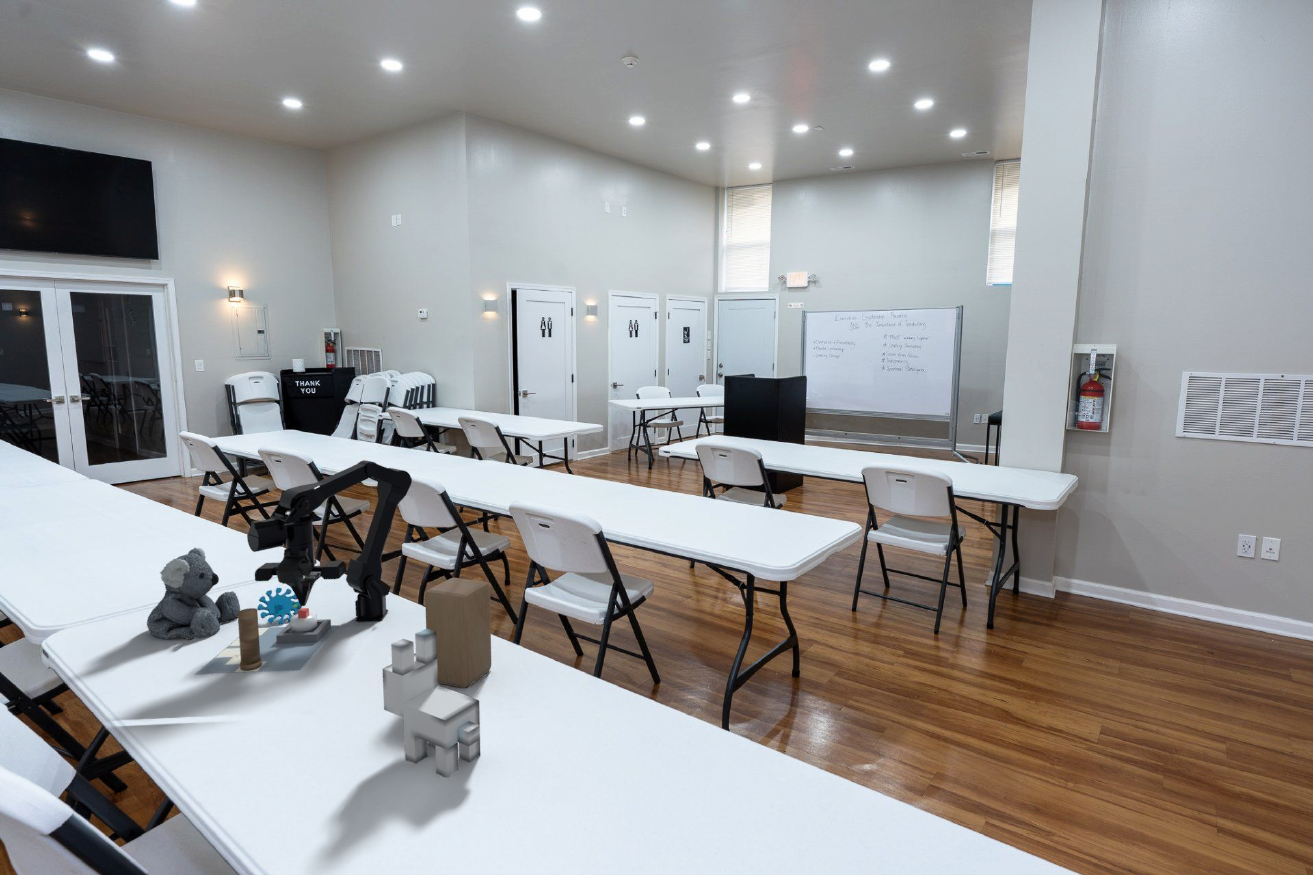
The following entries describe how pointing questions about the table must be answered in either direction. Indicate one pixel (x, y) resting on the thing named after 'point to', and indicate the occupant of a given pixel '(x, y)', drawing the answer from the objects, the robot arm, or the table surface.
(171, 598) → the koala plush
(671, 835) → the table surface
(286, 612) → the blue spiky piece
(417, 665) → the toy llama
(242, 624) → the brown wooden cylinder
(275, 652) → the board
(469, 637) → the block
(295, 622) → the dome button
